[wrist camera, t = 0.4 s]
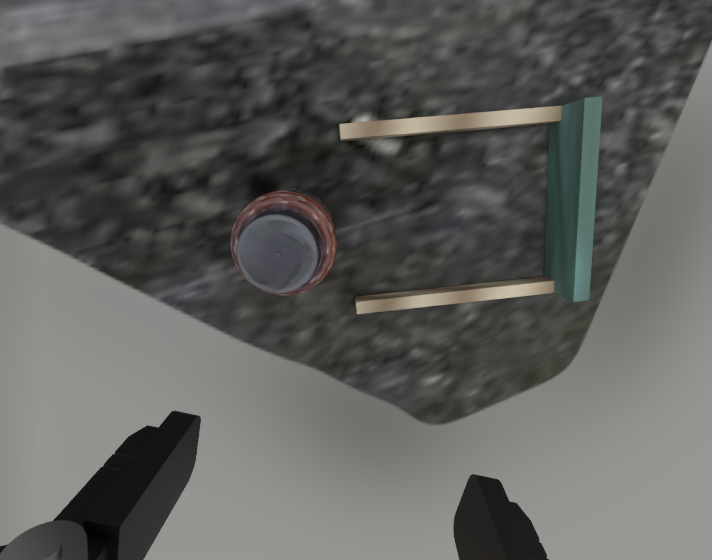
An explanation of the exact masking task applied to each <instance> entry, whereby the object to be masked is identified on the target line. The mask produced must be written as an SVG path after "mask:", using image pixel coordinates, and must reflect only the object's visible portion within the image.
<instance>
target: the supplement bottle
mask: <svg viewBox="0 0 712 560" xmlns="http://www.w3.org/2000/svg"><path fill="white" fill-rule="evenodd" d="M336 248H337V243H336V234H335V227H334V222H333V218H332V214H331V212H330V210H329V209H328V207H327V206H326V204H325V203H324V202H323V201H322V200H321V199H320V198H318V197H317V196H316V195H314V194H312V193H310V192H308V191H305V190H301V189H286V190H281V191H276V192H272V193H268V194H265V195H262V196H260V197H258V198H256V199H254V200H253V201H252V202H250V203H249V204H248V205H246V206H245V208H244V209H243V210H242V211H241V212H240V214H239V215H238V217H237V218H236V221H235V222H234V224H233V228H232V232H231V253H232V257H233V260H234V262H235V264H236V266H237V268H238V269H239V271H240V272H241V274H242V275H243V276H244V278H246V279H247V280H248V281H249V282H250V283H251V284H253V285H254V286H255V287H257V288H259V289H261V290H263V291H265V292H267V293H271V294H276V295H285V296H286V295H295V294H300V293H303V292H306V291H308V290H309V289H311V288H313V287H315V286H316V285H317V284H318V283H319V282H321V281H322V280H323V279H324V278H325V276H326V275H327V274H328V272H329V270H330V269H331V267H332V264H333V262H334V259H335V256H336Z"/></svg>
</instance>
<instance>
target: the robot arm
mask: <svg viewBox="0 0 712 560" xmlns="http://www.w3.org/2000/svg"><path fill="white" fill-rule="evenodd" d="M200 422H201V418H200V416H197V415H192V414H187V413H183V412H178V411H172V412H171V413H170V414H169V416H168V417H167V418H166V419H165V420H164V422H163V423H162V424H161V425H160V427H159V428H157V427H152V426H146V427H144V428H142V429H141V430H139V431H137V432H136V433H134V434H132V435H131V436H129V437H128V438H127V439H126V440H125V441H124V442H123V444H122V445H121V446H120V447H119V448H118V449H117V450H116V452H115V454H113V455H112V456H111V457H110V458H109V459H108V460H107V461H106V462H105V464H104V466H103V467H101V468H100V469H99V470H98V471H97V472H96V474H95V475H94V476H93V477H92V478H91V479H90V480H89V481H88V483H87V484H86V485H85V486H84V487H83V488H82V489H81V490H80V492H79V493H78V494H77V495H76V496H75V497H74V498H73V499H72V500H71V501H70V503H69V504H68V505H67V506H66V507H65V508H64V509H63V510H62V512H61V513H60V514H59V515H58V516H57V517H56V518H55V519H54V520H53V521H51V522H47V523H43V524H40V525H38V526H35V527H33V528H31V529H29V530H27V531H25V532H24V533H22V534H20V535H19V536H18V537H16V538H15V539H14V540H13V541H11V542H10V543H9V544H8V545H4V546H0V560H143V559H144V558H145V556H146V554H147V552H148V551H149V549H150V547H151V545H152V544H153V542H154V540H155V538H156V537H157V535H158V533H159V531H160V530H161V528H162V526H163V525H164V523H165V521H166V519H167V518H168V516H169V514H170V512H171V511H172V509H173V507H174V505H175V504H176V502H177V500H178V498H179V497H180V495H181V493H182V492H183V490H184V488H185V486H186V485H187V483H188V481H189V479H190V476H191V474H192V471H193V468H194V465H195V460H196V454H197V446H198V438H199V430H200ZM454 538H455V543H456V547H457V552H458V556H459V560H549V559H547V554H546V552H545V550H544V548H543V546H542V544H541V543H540V542H539V537H538V535H537V533H536V531H535V529H534V527H533V524H532V522H531V520H530V519H529V518H528V517H527V516H526V515H525V513H524V512H523V511H522V510H521V508H520V507H519V506H518V505H517V503H514V502H509V500H508V497H507V495H506V493H505V490H504V488H503V486H502V484H501V482H500V481H499V480H498V479H493V478H489V477H484V476H479V475H474V474H473V475H471V476H470V477H469V479H468V482H467V484H466V487H465V490H464V492H463V495H462V497H461V500H460V503H459V506H458V508H457V511H456V514H455V518H454Z"/></svg>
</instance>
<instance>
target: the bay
mask: <svg viewBox="0 0 712 560" xmlns="http://www.w3.org/2000/svg"><path fill="white" fill-rule="evenodd" d="M601 110H602V97H590V98H583V99H580V100H577V101H574V102H571V103H568V104H565V105H562V106H552V107H540V108H528V109H516V110H503V111H491V112H479V113H467V114H455V115H443V116H431V117H419V118H407V119H395V120H382V121H370V122H358V123H346V124H339V135H340V142H342V141H354V140H365V139H377V138H389V137H401V136H412V135H424V134H436V133H448V132H459V131H471V130H483V129H495V128H506V127H518V126H530V125H542V124H549V152H548V180H547V209H546V238H545V267H544V276H543V277H534V278H525V279H515V280H506V281H497V282H487V283H478V284H469V285H459V286H450V287H441V288H431V289H422V290H412V291H403V292H394V293H384V294H375V295H366V296H356V297H355V307H356V312H357V314H364V313H373V312H382V311H391V310H401V309H410V308H419V307H428V306H437V305H446V304H455V303H465V302H474V301H483V300H492V299H501V298H510V297H519V296H529V295H538V294H547V293H556V294H558V295H560V296H562V297H564V298H566V299H569V300H571V301H573V302H577V301H586V300H589V293H590V278H591V263H592V248H593V232H594V217H595V202H596V187H597V171H598V156H599V141H600V126H601Z"/></svg>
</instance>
